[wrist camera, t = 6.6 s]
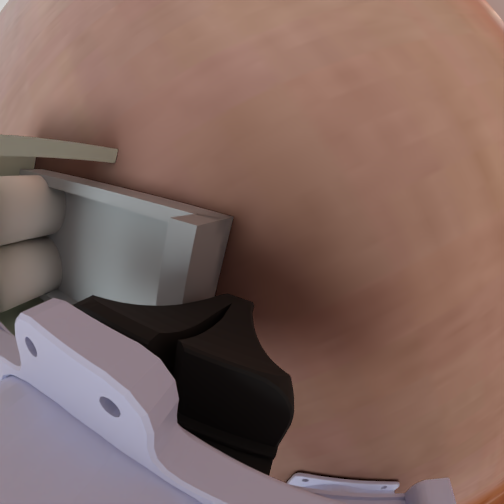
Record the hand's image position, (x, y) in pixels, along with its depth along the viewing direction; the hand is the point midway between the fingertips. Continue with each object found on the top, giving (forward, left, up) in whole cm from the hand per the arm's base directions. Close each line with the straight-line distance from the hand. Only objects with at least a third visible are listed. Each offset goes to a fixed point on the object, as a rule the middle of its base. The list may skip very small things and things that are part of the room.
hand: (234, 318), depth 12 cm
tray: (+9, 0, -2) cm, 9 cm away
